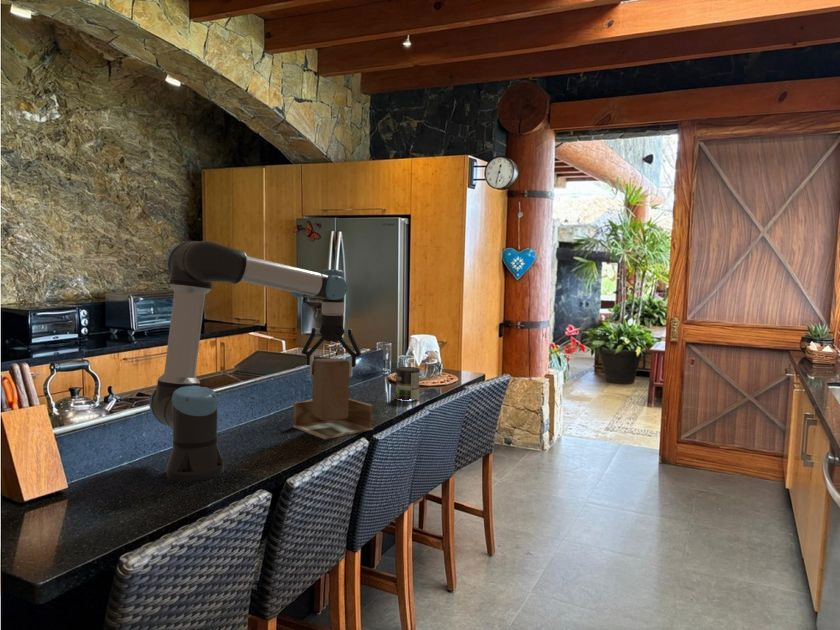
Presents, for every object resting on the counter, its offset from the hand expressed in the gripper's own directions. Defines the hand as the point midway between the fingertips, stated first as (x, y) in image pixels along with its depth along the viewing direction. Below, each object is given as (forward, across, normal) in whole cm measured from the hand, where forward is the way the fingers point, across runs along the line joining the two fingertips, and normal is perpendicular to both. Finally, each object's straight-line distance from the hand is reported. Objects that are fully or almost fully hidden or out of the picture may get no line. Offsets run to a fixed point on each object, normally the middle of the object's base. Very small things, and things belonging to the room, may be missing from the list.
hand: (331, 375), depth 222 cm
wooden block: (+15, 0, +1) cm, 15 cm away
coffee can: (+19, -23, -54) cm, 62 cm away
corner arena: (+20, 0, -3) cm, 20 cm away
